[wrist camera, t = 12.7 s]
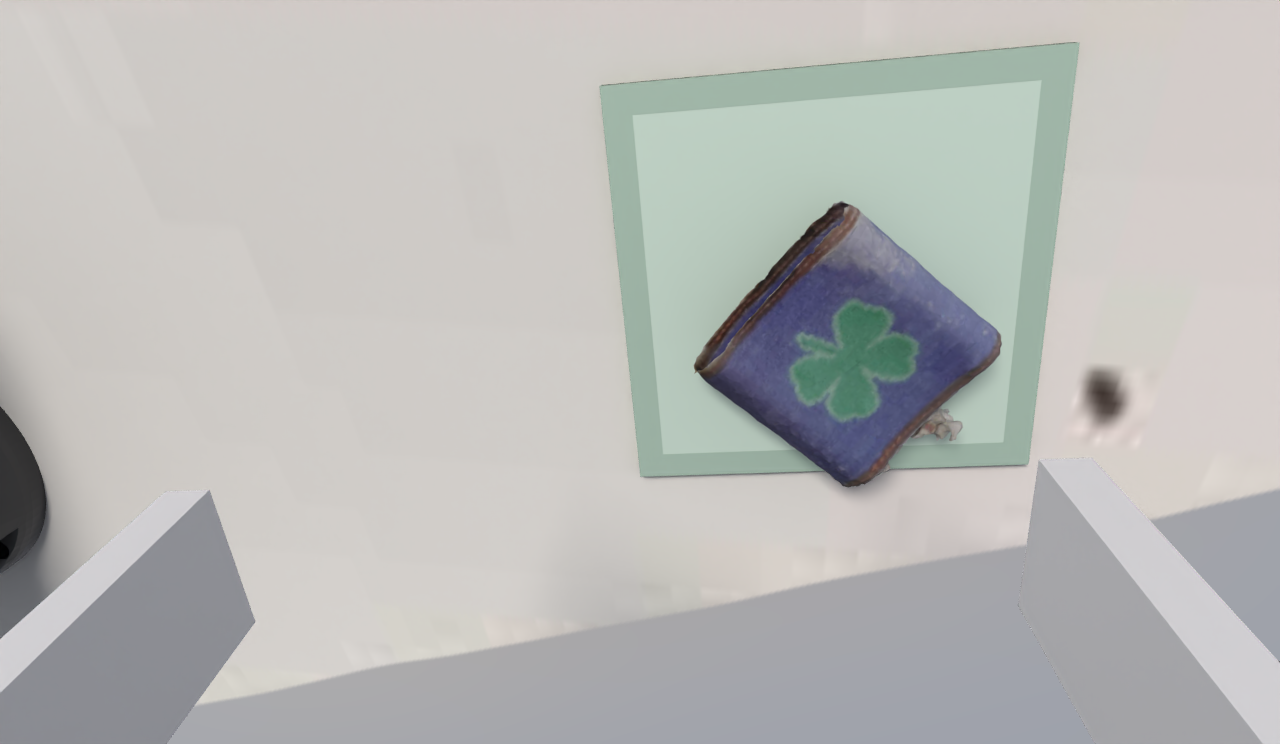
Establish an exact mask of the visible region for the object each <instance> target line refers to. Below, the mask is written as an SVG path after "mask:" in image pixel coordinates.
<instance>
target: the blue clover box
mask: <svg viewBox="0 0 1280 744" xmlns="http://www.w3.org/2000/svg"><path fill="white" fill-rule="evenodd" d="M1001 345H1002V342H1001V334H1000V333H999V332H998V331H997V329H996V328H995V327H993V326H992V325H991V324H990V323H989V322H987V321H986V320H984V319H983V318H982V317H980V316H979V315H978V314H977V313H976V312H975V311H974V310H973V309H972V308H970V307H969V306H968V305H967V304H965V303H964V302H963V301H962V300H961V299H959V298H958V297H957V296H956V295H955V294H954V293H953V292H952V291H950V290H949V289H948V288H946V287H945V286H944V285H942V284H941V283H940V282H939V281H938V280H937V279H936V278H935V277H934V276H933V275H932V274H930V273H929V272H928V271H927V270H926V269H925V268H924V267H923V266H922V265H921V264H920V263H919V262H918V261H917V260H916V259H915V258H913V257H912V256H911V255H910V254H909V253H907V252H906V251H905V250H904V249H902V248H901V247H899V246H898V245H897V244H896V243H895V242H894V241H893V240H892V239H891V238H890V237H889V236H887V235H886V234H885V233H884V232H883V231H882V230H881V229H879V228H878V227H877V226H876V225H875V224H874V223H873V222H872V221H871V220H869V219H868V218H867V217H866V216H865V215H864V214H863V213H862V212H861V211H860V210H859V209H858V208H856V207H854V206H852V205H850V204H847V203H845V202H843V201H840V202H839V203H833V205H832V207H831V208H828V211H827V213H826V214H825V215H823V216H822V217H821V218H819V219H817V220H816V221H815V222H813V223H812V224H811V225H810V226H809V227H808V229H807V230H806V232H805V233H804V235H802V236H801V237H800V240H797V241H796V242H795V243H794V245H792V246H791V247H790V249H788V251H787V252H786V253H785V254H784V255H783V257H781V258H780V260H779V261H778V262H777V263H776V264H775V265H774V266H772V269H771V270H769V273H768V275H767V276H766V277H765V279H764V280H761V281H760V282H759V283H757V285H756V286H755V288H754V289H752V290H751V291H750V292H749V293H747V295H746V296H745V297H744V298H743V299H742V300H741V301H740V303H739V305H738V306H737V307H736V310H733V311H732V313H731V314H730V316H728V317H727V319H726V320H725V321H724V322H723V323H722V325H721V326H720V327H719V328H718V330H717V331H716V332H715V333H714V334H713V336H712V337H711V338H710V339H709V341H708V342H707V343H706V344H705V345H704V347H703V350H702V352H701V353H700V355H699V356H698V357H697V358H696V362H695V364H694V369H695V373H696V372H698V373H699V374H700V376H701V377H702V378H703V380H705V381H706V382H707V383H708V384H710V385H711V386H712V387H713V388H714V389H716V390H718V391H719V392H721V393H722V394H723V395H724V396H726V397H727V398H728V399H730V400H731V401H732V402H733V403H735V404H736V405H738V406H739V407H741V408H742V409H744V410H745V411H746V412H748V413H749V414H750V415H751V416H753V417H754V418H755V419H756V420H757V421H758V422H760V423H762V424H763V425H765V426H766V427H767V428H769V429H770V430H771V431H773V432H774V433H775V434H777V435H779V436H780V437H781V438H782V439H784V440H785V441H786V442H787V443H788V444H789V445H791V446H792V447H794V448H795V449H796V450H798V451H799V452H801V453H802V454H803V455H804V456H806V457H807V458H808V459H809V460H811V461H812V462H814V463H815V464H816V465H817V466H819V467H820V468H821V469H823V470H825V471H826V472H828V473H829V474H830V475H831V476H832V477H833V478H834V479H835V480H837V481H839V482H840V483H841V484H842V485H843V486H846V487H851V486H859V485H861V484H866V483H867V482H869V481H871V480H872V479H873V478H874V477H875V476H876V475H878V474H880V473H881V472H886V471H888V470H890V465H889V463H888V462H889V460H891V459H892V458H893V456H894V455H895V454H898V452H899V451H900V450H901V448H902V446H903V444H905V443H906V442H907V440H908V439H909V437H911V438H913V439H917V438H922V437H923V436H924V435H929V434H934V435H936V441H938V440H939V439H943V438H945V437H946V436H947V435H948V433H949V432H951V436H950V439H949V441H953V440H956V437H957V434H958V433H959V432H960V431H961V429H962V428H963V424H962V422H961V421H954V420H953V417H952V416H951V415H949V414H948V413H949V410H948V409H944V410H943V409H941V407H942V405H943V404H944V403H945V402H947V401H948V400H949V399H950V398H951V397H952V396H954V395H955V394H956V393H957V392H958V391H959V390H960V389H961V388H962V387H964V386H965V385H967V384H968V383H969V382H970V381H971V380H973V379H974V378H975V377H976V376H978V375H979V374H980V373H982V372H983V371H985V370H986V369H987V368H988V367H989V366H990V365H991V364H992V363H993V362H994V361H995V360H996V359H997V357H998V356H999V355H1000V348H1001ZM695 373H694V374H695Z"/></svg>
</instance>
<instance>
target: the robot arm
mask: <svg viewBox="0 0 1280 744" xmlns="http://www.w3.org/2000/svg"><path fill="white" fill-rule="evenodd" d="M45 511H46V498H45V490H44V484H43V480H42V476H41V473H40V470H39V467H38V464H37V462H36V460H35V457H34V455H33V453H32V451H31V449H30V447H29V445H28V444H27V442H26V440H25V438H24V437H23V435H22V434H21V432H20V431H19V429H18V428H17V427H16V425H15V424H14V422H13V421H12V420H11V419H10V417H9V416H8V415H7V414H6V413H5V411H4V410H3V409H2V408H1V407H0V573H1V572H3V571H4V570H6V569H7V568H9V567H10V566H11V565H13V564H14V563H15V562H17V561H18V560H19V559H20V558H22V557H23V556H24V555H25V554H26V553H27V552H28V551H29V550H30V549H31V548H32V547H33V545H34V544H35V542H36V541H37V539H38V537H39V535H40V533H41V530H42V527H43V524H44V519H45ZM1018 606H1019V608H1020V610H1021V612H1022V614H1023V615H1024V617H1025V619H1026V621H1027V623H1028V624H1029V626H1030V628H1031V630H1032V632H1033V633H1034V635H1035V637H1036V639H1037V641H1038V642H1039V644H1040V646H1041V648H1042V650H1043V651H1044V653H1045V655H1046V657H1047V658H1048V660H1049V662H1050V664H1051V666H1052V668H1053V669H1054V671H1055V673H1056V675H1057V677H1058V678H1059V680H1060V682H1061V683H1062V686H1063V687H1064V689H1065V691H1066V693H1067V695H1068V696H1069V698H1070V700H1071V702H1072V703H1073V705H1074V707H1075V709H1076V711H1077V713H1078V714H1079V716H1080V718H1081V720H1082V722H1083V723H1084V725H1085V727H1086V729H1087V730H1088V732H1089V734H1090V736H1091V738H1092V739H1093V741H1094V743H1095V744H1280V661H1277V659H1276V658H1275V657H1274V656H1273V655H1272V654H1271V653H1270V651H1269V650H1268V649H1267V648H1266V647H1265V646H1264V645H1263V644H1262V643H1261V642H1260V641H1259V639H1258V638H1257V637H1256V636H1255V635H1254V634H1253V633H1252V632H1251V631H1250V630H1249V629H1248V627H1246V625H1245V624H1244V623H1243V622H1242V621H1241V620H1240V619H1239V618H1238V617H1237V615H1236V614H1235V613H1234V612H1233V611H1232V610H1231V609H1230V608H1229V607H1228V606H1227V605H1226V603H1225V602H1224V601H1223V600H1222V599H1221V598H1220V597H1219V596H1218V595H1217V594H1216V592H1215V591H1214V590H1213V589H1212V588H1211V587H1210V586H1209V585H1208V584H1207V583H1206V582H1205V580H1204V579H1203V578H1202V577H1201V576H1200V575H1199V574H1198V573H1197V572H1196V571H1195V569H1194V568H1193V567H1192V566H1191V565H1190V564H1189V563H1188V562H1187V561H1186V560H1185V559H1184V558H1183V556H1182V555H1181V554H1180V553H1179V552H1178V551H1177V550H1176V549H1175V548H1174V547H1173V545H1172V544H1171V543H1170V542H1169V541H1168V540H1167V539H1166V538H1165V537H1164V536H1163V535H1162V533H1161V532H1160V531H1159V530H1158V529H1157V528H1156V527H1155V526H1154V525H1153V524H1152V522H1151V521H1150V520H1149V519H1148V518H1147V517H1146V516H1145V515H1144V514H1143V513H1142V512H1141V510H1140V509H1139V508H1138V507H1137V506H1136V505H1135V504H1134V503H1133V502H1132V501H1131V499H1130V498H1129V497H1128V496H1127V495H1126V494H1125V493H1124V492H1123V491H1122V490H1121V489H1120V487H1119V486H1118V485H1117V484H1116V483H1115V482H1114V481H1113V480H1112V479H1111V478H1110V477H1109V475H1108V474H1107V473H1106V472H1105V471H1104V470H1103V469H1102V468H1101V467H1100V466H1099V465H1098V463H1097V462H1096V461H1095V460H1094V459H1093V458H1069V459H1042V460H1039V462H1038V469H1037V476H1036V483H1035V490H1034V497H1033V504H1032V511H1031V518H1030V525H1029V532H1028V539H1027V546H1026V553H1025V561H1024V568H1023V575H1022V582H1021V590H1020V596H1019V603H1018ZM254 623H255V619H254V617H253V614H252V611H251V608H250V605H249V602H248V599H247V596H246V594H245V591H244V588H243V585H242V582H241V579H240V576H239V574H238V571H237V568H236V565H235V562H234V559H233V556H232V553H231V551H230V548H229V545H228V542H227V539H226V536H225V533H224V531H223V528H222V525H221V522H220V519H219V516H218V513H217V510H216V508H215V505H214V502H213V499H212V496H211V493H210V490H193V491H166V492H164V493H163V494H162V495H161V496H160V497H159V498H158V499H156V500H155V501H154V502H153V503H152V504H151V505H150V506H149V507H148V508H146V509H145V510H144V511H143V512H142V513H141V514H140V515H139V516H137V517H136V518H135V519H134V520H133V521H132V522H131V523H130V524H128V525H127V526H126V527H125V528H124V529H123V530H122V531H121V532H120V533H118V534H117V535H116V536H115V537H114V538H113V539H112V540H111V541H109V542H108V543H107V544H106V545H105V546H104V547H103V548H102V549H100V550H99V551H98V552H97V553H96V554H95V555H94V556H93V557H92V558H90V559H89V560H88V561H87V562H86V563H85V564H84V565H83V566H81V567H80V568H79V569H78V570H77V571H76V572H75V573H74V574H72V575H71V576H70V577H69V578H68V579H67V580H66V581H65V582H64V583H62V584H61V585H60V586H59V587H58V588H57V589H56V590H55V591H53V592H52V593H51V594H50V595H49V596H48V597H47V598H46V599H44V600H43V601H42V602H41V603H40V604H39V605H38V606H37V607H35V608H34V609H33V610H32V611H31V612H30V613H29V614H28V615H27V616H25V617H24V618H23V619H22V620H21V621H20V622H19V623H18V624H16V625H15V626H14V627H13V628H12V629H11V630H10V631H9V632H7V633H6V634H5V635H4V636H3V637H2V638H1V639H0V744H167V742H168V741H169V740H170V738H171V737H172V735H173V734H174V733H175V731H176V730H177V729H178V727H179V726H180V724H181V723H182V722H183V720H184V719H185V718H186V716H187V715H188V713H189V712H190V711H191V709H192V708H193V707H194V705H195V704H196V702H197V701H198V700H199V698H200V697H201V696H202V694H203V693H204V691H205V690H206V689H207V687H208V686H209V685H210V683H211V682H212V681H213V679H214V678H215V676H216V675H217V674H218V672H219V671H220V670H221V668H222V667H223V665H224V664H225V663H226V661H227V660H228V659H229V657H230V656H231V654H232V653H233V652H234V650H235V649H236V648H237V646H238V645H239V643H240V642H241V641H242V639H243V638H244V637H245V635H246V634H247V632H248V631H249V630H250V628H251V627H252V626H253V624H254Z"/></svg>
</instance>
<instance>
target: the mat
mask: <svg viewBox="0 0 1280 744" xmlns="http://www.w3.org/2000/svg"><path fill="white" fill-rule="evenodd" d="M1078 51H1079V43H1077V42H1070V43H1059V44H1048V45H1037V46H1026V47H1015V48H1004V49H993V50H982V51H971V52H960V53H949V54H938V55H927V56H916V57H905V58H894V59H883V60H872V61H861V62H850V63H839V64H828V65H817V66H806V67H795V68H784V69H773V70H762V71H751V72H740V73H729V74H718V75H707V76H696V77H685V78H674V79H663V80H652V81H641V82H630V83H619V84H608V85H601V86H600V95H601V105H602V114H603V124H604V133H605V143H606V152H607V162H608V172H609V181H610V191H611V200H612V210H613V219H614V229H615V238H616V248H617V257H618V267H619V276H620V286H621V295H622V305H623V315H624V324H625V334H626V343H627V353H628V362H629V372H630V381H631V391H632V400H633V410H634V419H635V429H636V438H637V448H638V458H639V467H640V477H646V476H678V475H710V474H741V473H773V472H804V471H825V470H823V469H821V468H820V467H819V466H817V465H816V464H815V463H814V462H812V461H811V460H809V459H808V458H807V457H806V456H804V455H803V454H802V453H801V452H799V451H798V450H796V449H795V448H794V447H792V446H791V445H789V444H788V443H787V442H786V441H785V440H784V439H782V438H781V437H780V436H779V435H777V434H775V433H774V432H773V431H771V430H770V429H769V428H767V427H766V426H765V425H763V424H762V423H760V422H758V421H757V420H756V419H755V418H754V417H753V416H751V415H750V414H749V413H748V412H746V411H745V410H744V409H742V408H741V407H739V406H738V405H736V404H735V403H733V402H732V401H731V400H730V399H728V398H727V397H726V396H724V395H723V394H722V393H721V392H719V391H718V390H716V389H714V388H713V387H712V386H711V385H710V384H708V383H707V382H706V381H705V380H703V378H702V377H701V376H700V374H699V373H698V372H696V373H695V369H694V364H695V362H696V358H697V357H698V356H699V355H700V353H701V352H702V350H703V347H704V345H705V344H706V343H707V342H708V341H709V339H710V338H711V337H712V336H713V334H714V333H715V332H716V331H717V330H718V328H719V327H720V326H721V325H722V323H723V322H724V321H725V320H726V319H727V317H728V316H730V314H731V313H732V311H733V310H736V307H737V306H738V305H739V303H740V301H741V300H742V299H743V298H744V297H745V296H746V295H747V293H749V292H750V291H751V290H752V289H754V288H755V286H756V285H757V283H759V282H760V281H761V280H764V279H765V277H766V276H767V275H768V273H769V270H771V269H772V266H774V265H775V264H776V263H777V262H778V261H779V260H780V258H781V257H783V255H784V254H785V253H786V252H787V251H788V249H790V247H791V246H792V245H794V243H795V242H796V241H797V240H800V237H801V236H802V235H804V233H805V232H806V230H807V229H808V227H809V226H810V225H811V224H812V223H813V222H815V221H816V220H817V219H819V218H821V217H822V216H823V215H825V214H826V213H827V211H828V208H831V207H832V205H833V203H839V202H840V201H843V202H845V203H847V204H850V205H852V206H854V207H856V208H858V209H859V210H860V211H861V212H862V213H863V214H864V215H865V216H866V217H867V218H868V219H869V220H871V221H872V222H873V223H874V224H875V225H876V226H877V227H878V228H879V229H881V230H882V231H883V232H884V233H885V234H886V235H887V236H889V237H890V238H891V239H892V240H893V241H894V242H895V243H896V244H897V245H898V246H899V247H901V248H902V249H904V250H905V251H906V252H907V253H909V254H910V255H911V256H912V257H913V258H915V259H916V260H917V261H918V262H919V263H920V264H921V265H922V266H923V267H924V268H925V269H926V270H927V271H928V272H929V273H930V274H932V275H933V276H934V277H935V278H936V279H937V280H938V281H939V282H940V283H941V284H942V285H944V286H945V287H946V288H948V289H949V290H950V291H952V292H953V293H954V294H955V295H956V296H957V297H958V298H959V299H961V300H962V301H963V302H964V303H965V304H967V305H968V306H969V307H970V308H972V309H973V310H974V311H975V312H976V313H977V314H978V315H979V316H980V317H982V318H983V319H984V320H986V321H987V322H989V323H990V324H991V325H992V326H993V327H995V328H996V329H997V331H998V332H999V333H1000V334H1001V342H1002V345H1001V348H1000V355H999V356H998V357H997V359H996V360H995V361H994V362H993V363H992V364H991V365H990V366H989V367H988V368H987V369H986V370H985V371H983V372H982V373H980V374H979V375H978V376H976V377H975V378H974V379H973V380H971V381H970V382H969V383H968V384H967V385H965V386H964V387H962V388H961V389H960V390H959V391H958V392H957V393H956V394H955V395H954V396H952V397H951V398H950V399H949V400H948V401H947V402H945V403H944V404H943V405H942V407H941V409H943V410H944V409H948V410H949V413H948V414H949V415H951V416H952V417H953V420H954V421H961V422H962V424H963V428H962V429H961V431H960V432H959V433H958V434H957V437H956V440H953V441H949V439H950V436H951V432H949V433H948V435H947V436H946V437H945V438H943V439H939V440H938V441H936V435H934V434H929V435H924V436H923V437H922V438H917V439H913V438H911V437H909V439H908V440H907V442H906V443H905V444H903V446H902V448H901V450H900V451H899V452H898V454H895V455H894V456H893V458H892V459H891V460H889V462H888V463H889V465H890V469H899V468H931V467H962V466H994V465H1025V464H1028V463H1029V455H1030V446H1031V438H1032V430H1033V422H1034V413H1035V405H1036V397H1037V389H1038V380H1039V372H1040V364H1041V356H1042V347H1043V339H1044V331H1045V323H1046V314H1047V306H1048V298H1049V290H1050V281H1051V273H1052V265H1053V257H1054V248H1055V240H1056V232H1057V224H1058V215H1059V207H1060V199H1061V191H1062V183H1063V174H1064V166H1065V158H1066V150H1067V141H1068V133H1069V125H1070V117H1071V108H1072V100H1073V92H1074V84H1075V75H1076V67H1077V59H1078ZM694 373H695V374H694Z"/></svg>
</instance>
